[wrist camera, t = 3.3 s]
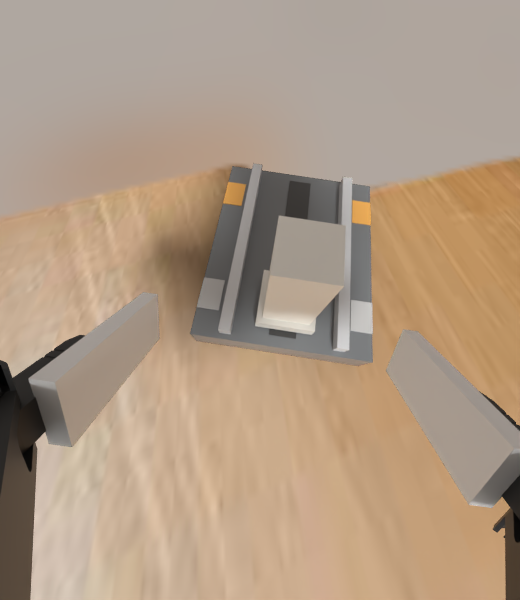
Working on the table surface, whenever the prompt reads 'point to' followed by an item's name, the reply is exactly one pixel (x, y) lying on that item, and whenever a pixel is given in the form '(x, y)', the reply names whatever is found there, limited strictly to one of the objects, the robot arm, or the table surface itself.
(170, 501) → the table surface
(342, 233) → the switch slider
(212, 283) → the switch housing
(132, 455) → the table surface
